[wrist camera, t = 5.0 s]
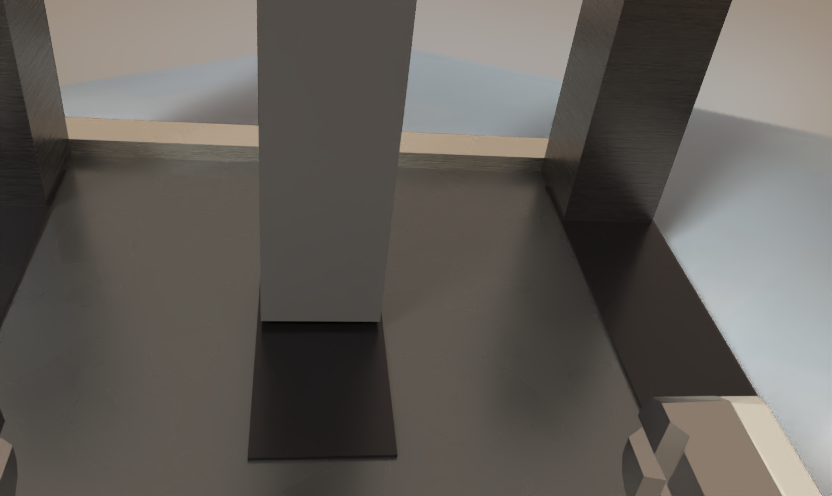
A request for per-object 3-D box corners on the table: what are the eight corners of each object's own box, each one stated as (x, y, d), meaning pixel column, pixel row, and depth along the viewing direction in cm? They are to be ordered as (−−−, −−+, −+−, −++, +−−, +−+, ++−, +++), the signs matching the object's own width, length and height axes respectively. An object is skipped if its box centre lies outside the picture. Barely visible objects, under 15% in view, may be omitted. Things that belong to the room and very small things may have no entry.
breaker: (256, 323, 19) (246, -261, 12) (262, 245, 22) (256, -279, 14) (384, 324, 20) (450, -237, 12) (375, 247, 22) (426, -258, 15)
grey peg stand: (-293, 639, 14) (-950, -94, 6) (-11, 166, 27) (-123, -271, 19) (817, 582, 17) (1231, 60, 10) (603, 187, 30) (714, -176, 22)
